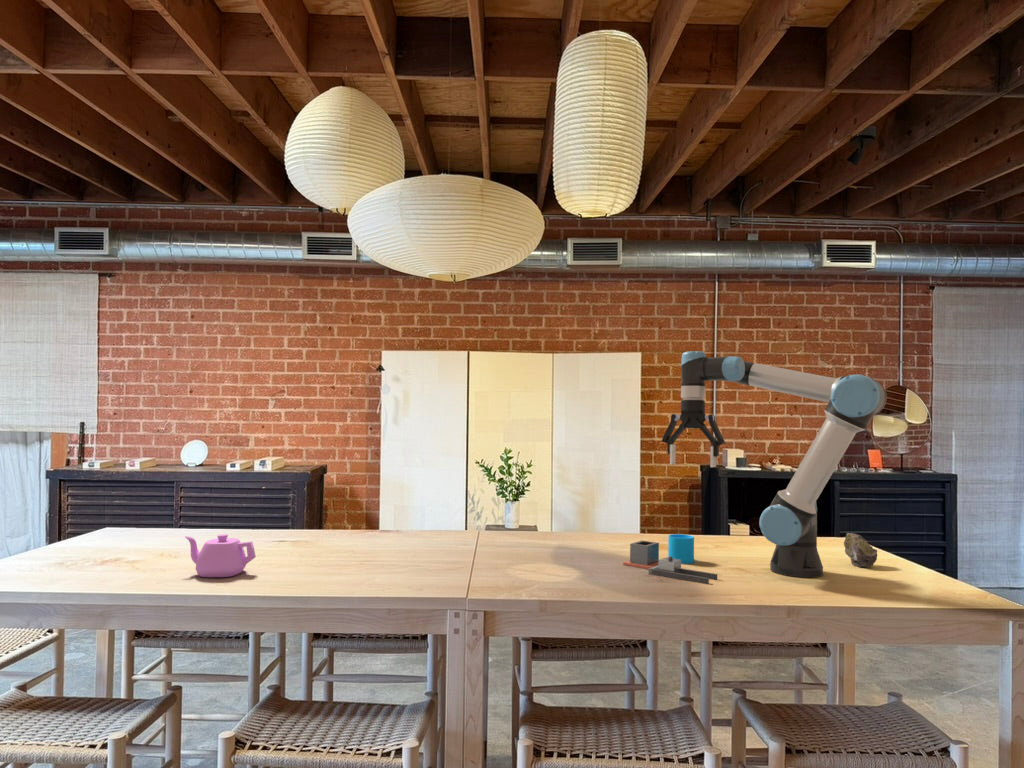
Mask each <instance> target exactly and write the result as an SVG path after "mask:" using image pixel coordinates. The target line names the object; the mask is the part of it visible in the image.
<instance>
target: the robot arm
mask: <svg viewBox="0 0 1024 768" xmlns="http://www.w3.org/2000/svg"><path fill="white" fill-rule="evenodd" d="M680 374H681V375H680V379H681V380H680V381H681V382H680V384H681V385H680V398H681V401H680V415H679V414H677V413H675V414H674V413H673V414H671V416H670V421H669V422H670V423H669V424H668V426H667V428H666V430H665V432H664V434H663V437H662V439H661V442H662V443H665V444H666V445H667V454H668V455H669V465H670V466H673V465H676V464H677V463H676V462H677V461H676V459H677V458H676V455H677V454H676V453H677V450H676V449H677V448H676V446H677V445H676V444H674V443H675V442H676V440H677V439H678V438H679V437H680V436H681V435H682V434H683V432H684V431H685V430H686V429H695V430H698V429H699V430H700V431H701V432H702V433H703V434H704V436H705V437H706V438H707V440H708V441H709V443H711V445H710V450H709V451H710V454H709V455H710V457H709V458H710V460H709V461H710V463H709V464H710V465H709V467H710V468H717V457H719V455H720V446H721V445H725V444H726V441H725V439H724V436H723V434H722V433H721V430H720V429H719V426H718V424H717V422H716V416H715V414H708V415H706V401H705V400H704V399H705V398H706V381H707V382H714V381H716V382H730V383H735V384H740V385H743V386H749V387H750V386H751V387H754V388H760V389H764V390H768V391H773V392H779V393H783V394H788V395H792V396H797V397H801V398H806V399H811V400H816V401H819V402H824V403H827V405H826V406H825V409H824V410H823V411H824V414H825V416H826V418H825V420H824V421H823V423H822V425H821V427H820V429H819V431H818V432H817V434H816V435H815V436H814V439H813V441H812V443H811V444H810V446H809V448H808V450H807V451H806V453H805V455H804V456H803V458H802V460H801V462H800V463H799V465H798V467H797V469H796V470H795V472H794V473H793V474H794V475H793V476H792V477H791V479H790V481H789V483H788V484H787V486H786V488H785V489H782V490H778V491H777V493H776V495H775V496H774V498H773V500H772V501H771V503H770V505H769V506H768V507H766V508H765V509H764V510H763V511H762V513H761V515H760V517H759V521H758V522H759V528H760V531H761V533H762V536H763V537H764V538H765V539H766V540H767V541H768V542H770V543H772V544H774V545H775V548H774V550H773V553H772V556H771V559H770V563H769V566H770V567H769V570H770V571H771V572H773V573H775V574H779V575H784V576H789V577H798V578H818V577H822V576H824V566H823V563H822V561H821V560H822V559H821V557H820V554H819V551H818V543H817V542H818V533H817V532H818V519H817V518H818V506H817V505H818V504H817V500H818V499H819V497H820V495H821V494H822V492H823V490H824V488H825V487H826V485H827V484H828V482H829V480H830V478H831V477H832V475H833V473H834V472H835V470H836V468H837V466H838V465H839V463H840V461H841V460H842V458H843V456H844V454H845V453H846V451H847V450H848V448H849V446H850V444H851V442H852V441H853V439H854V437H855V436H856V434H857V433H860V432H862V431H865V430H866V429H867V427H868V426H869V424H870V422H871V420H872V419H873V417H874V416H876V415H877V414H878V413H880V412H881V411H882V410H883V408H884V407H885V405H886V403H887V399H888V397H887V395H888V394H887V392H886V389H885V387H884V385H883V384H882V383H881V382H879V381H878V380H877V379H875V378H873V377H870V376H867V375H864V374H859V373H858V374H851V375H847V376H843V375H841V376H839V377H837V378H836V377H835V378H834V377H831V376H825V375H818V374H814V373H808V372H803V371H799V370H793V369H787V368H783V367H777V366H772V365H768V364H761V363H756V362H755V363H754V362H751V361H746V360H744V359H743V358H742V357H741V356H733V355H732V356H731V355H729V356H716V357H715V356H714V357H713V356H712V357H708V356H706V352H704V351H701V350H699V351H697V350H696V351H694V350H690V351H685V352H683V353H682V354H681V362H680ZM679 420H680V421H681V423H680V424H679V426H678V428H676V426H677V423H678V422H679ZM705 421H707V422H708V423H709V426H710V428H711V430H712V432H713V433H712V432H711V431H710V430H709V428H708V427H707V425H706V424H705ZM675 428H676V430H675ZM674 430H675V431H674Z"/></svg>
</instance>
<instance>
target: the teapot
mask: <svg viewBox="0 0 1024 768" xmlns="http://www.w3.org/2000/svg"><path fill="white" fill-rule="evenodd" d="M216 536H217V538H213V539H208V540H207V541H205V542H204V543H203V546H202V547H201V550H200V551H199V549H198V546H197V541H196V540H195V538H193V537H192V536H187V535H186V536H184V538H186V540H188V542H189V544H190V558H191V560H192V562H193V563H194V564H195V572H196V573H197V574H198V576H199V577H202V578H228V577H234V576H237V575H239V574H241V573H242V572H243V571H244V569H245V568H246V566H247V564H249V563H250V562H252V561H253V560H254V559H255V558H256V557H257V554H256V552H255V547H254V542H253V541H245V542H241V540H240V539H239V538H230V537H228V534H225V533H224V534H218V535H216ZM245 547H246V553H247V554H246V553H245V550H244V548H245ZM246 555H247V556H246Z"/></svg>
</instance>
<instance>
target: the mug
mask: <svg viewBox="0 0 1024 768" xmlns="http://www.w3.org/2000/svg"><path fill="white" fill-rule="evenodd" d="M667 542H668V551H667V552H668V555H667V556H672V557H673V559H679V560H681V565H689V564H694V562H695V536H693V535H691V534H683V533H682V534H681V533H673V534H669V535H668V541H667Z"/></svg>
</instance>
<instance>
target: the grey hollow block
mask: <svg viewBox="0 0 1024 768" xmlns="http://www.w3.org/2000/svg"><path fill="white" fill-rule="evenodd" d="M629 544H630V545H629V547H630V548H629V550H630V551H629V560H630V563H634V564H640V565H646V566H648V565H651V564H654V563H656V562H659V560H660V559H659V557H660V555H659V552H660V545H659V544H660V542H655V541H650V540H638V541H636V542H632V543H629Z"/></svg>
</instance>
